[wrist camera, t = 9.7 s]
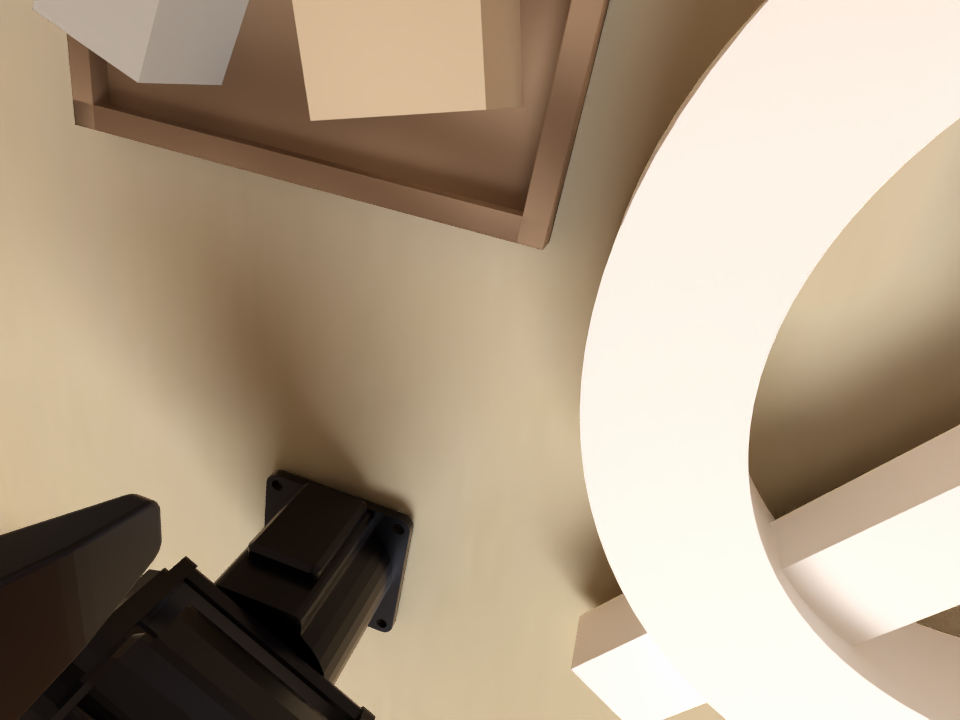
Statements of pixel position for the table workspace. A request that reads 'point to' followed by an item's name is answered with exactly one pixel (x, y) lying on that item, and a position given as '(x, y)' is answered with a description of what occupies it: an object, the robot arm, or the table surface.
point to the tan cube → (408, 56)
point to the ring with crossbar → (734, 383)
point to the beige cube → (154, 35)
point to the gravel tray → (371, 124)
